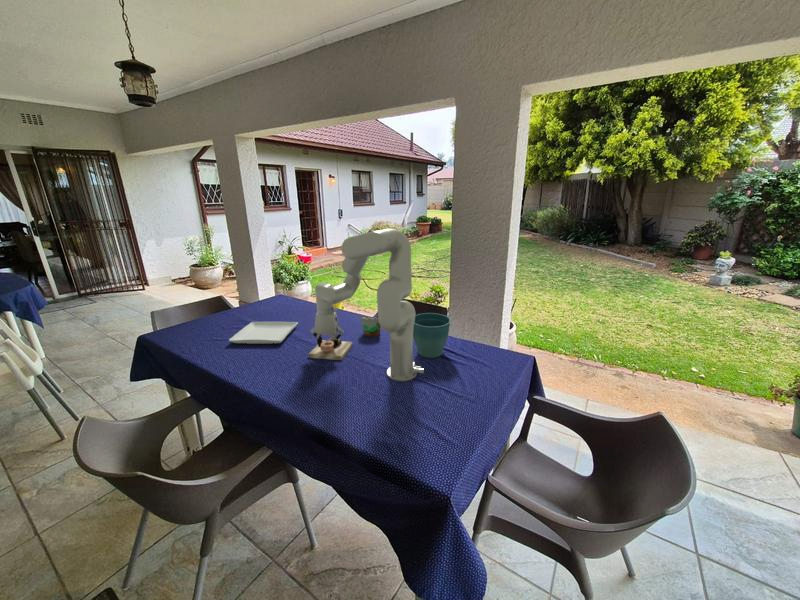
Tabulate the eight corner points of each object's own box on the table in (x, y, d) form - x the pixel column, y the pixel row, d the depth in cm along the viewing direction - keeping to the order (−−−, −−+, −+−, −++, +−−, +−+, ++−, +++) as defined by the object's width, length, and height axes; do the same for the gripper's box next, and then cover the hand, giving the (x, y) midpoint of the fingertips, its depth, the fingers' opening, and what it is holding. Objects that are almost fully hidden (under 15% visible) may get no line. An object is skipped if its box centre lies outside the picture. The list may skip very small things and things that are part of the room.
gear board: (352, 345, 168) (352, 333, 167) (341, 360, 153) (341, 347, 151) (322, 343, 171) (321, 331, 169) (308, 357, 156) (307, 344, 154)
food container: (356, 335, 181) (355, 317, 178) (363, 331, 186) (362, 314, 183) (376, 339, 175) (375, 321, 173) (382, 335, 181) (381, 318, 178)
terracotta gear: (338, 345, 160) (338, 341, 160) (332, 352, 154) (332, 347, 153) (324, 344, 162) (323, 340, 161) (318, 351, 155) (317, 346, 154)
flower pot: (447, 363, 150) (449, 327, 145) (408, 359, 153) (408, 325, 148) (450, 346, 167) (451, 314, 162) (414, 343, 170) (414, 311, 165)
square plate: (282, 347, 168) (281, 339, 167) (228, 346, 169) (227, 339, 168) (299, 327, 194) (298, 320, 193) (252, 327, 195) (251, 320, 194)
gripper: (346, 308, 154) (348, 344, 160) (310, 307, 157) (314, 342, 162) (341, 314, 147) (343, 351, 152) (303, 312, 150) (307, 348, 155)
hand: (328, 346), depth 157 cm, fingers closed on terracotta gear, 7 cm apart
